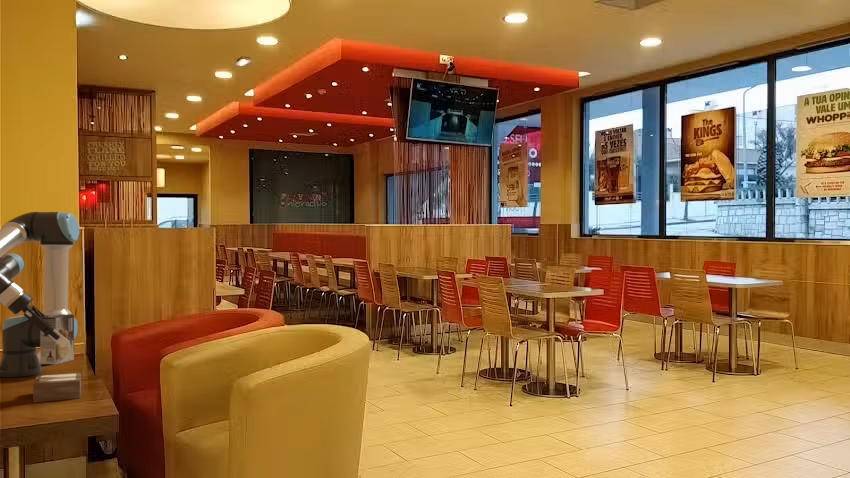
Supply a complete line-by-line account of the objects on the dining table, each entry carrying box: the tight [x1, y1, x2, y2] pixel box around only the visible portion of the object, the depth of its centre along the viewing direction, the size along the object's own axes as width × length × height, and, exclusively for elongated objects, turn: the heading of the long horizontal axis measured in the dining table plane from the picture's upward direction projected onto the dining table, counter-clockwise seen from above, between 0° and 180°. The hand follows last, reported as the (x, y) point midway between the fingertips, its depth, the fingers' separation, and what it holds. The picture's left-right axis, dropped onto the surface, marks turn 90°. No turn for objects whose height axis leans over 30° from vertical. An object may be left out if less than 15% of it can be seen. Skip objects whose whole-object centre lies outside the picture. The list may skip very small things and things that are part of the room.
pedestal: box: [32, 372, 82, 403], centre depth 240 cm, size 14×14×6 cm
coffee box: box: [39, 314, 75, 365], centre depth 239 cm, size 9×6×16 cm
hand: (67, 342), depth 240 cm, fingers closed on coffee box, 10 cm apart
